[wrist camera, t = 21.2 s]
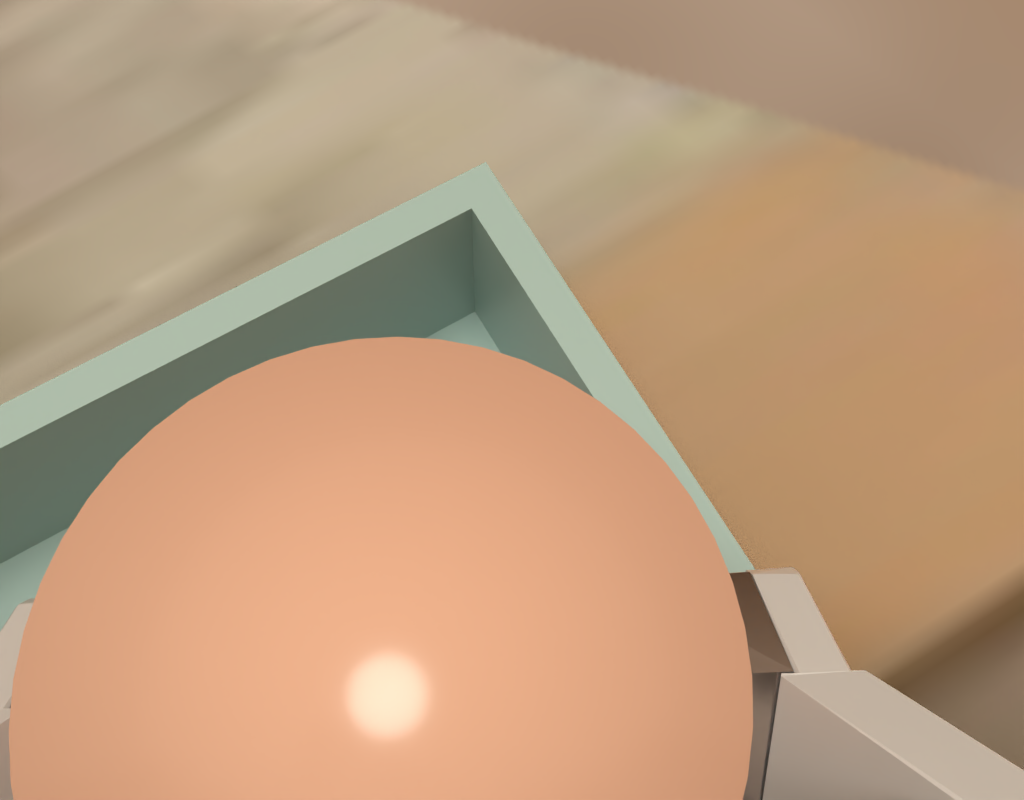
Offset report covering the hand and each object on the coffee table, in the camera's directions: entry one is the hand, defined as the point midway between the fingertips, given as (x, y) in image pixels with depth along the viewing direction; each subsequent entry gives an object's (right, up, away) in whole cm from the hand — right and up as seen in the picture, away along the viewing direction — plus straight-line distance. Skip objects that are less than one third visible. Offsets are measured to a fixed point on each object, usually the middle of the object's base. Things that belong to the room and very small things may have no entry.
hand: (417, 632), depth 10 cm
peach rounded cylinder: (0, -2, +5) cm, 5 cm away
